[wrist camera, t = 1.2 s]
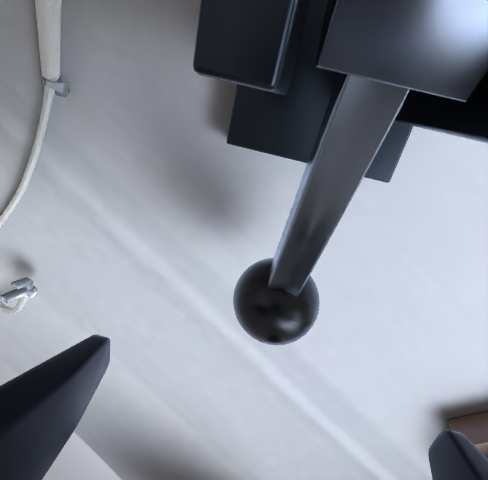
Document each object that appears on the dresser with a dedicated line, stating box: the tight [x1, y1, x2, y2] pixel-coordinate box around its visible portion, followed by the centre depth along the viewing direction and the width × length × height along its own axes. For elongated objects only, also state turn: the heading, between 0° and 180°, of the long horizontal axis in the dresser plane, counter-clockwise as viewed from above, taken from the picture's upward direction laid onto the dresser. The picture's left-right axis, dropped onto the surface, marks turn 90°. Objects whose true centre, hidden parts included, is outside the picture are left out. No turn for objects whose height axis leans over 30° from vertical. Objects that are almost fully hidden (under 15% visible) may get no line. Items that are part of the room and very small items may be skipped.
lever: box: [233, 0, 488, 345], centre depth 8 cm, size 13×3×3 cm, turn 167°
